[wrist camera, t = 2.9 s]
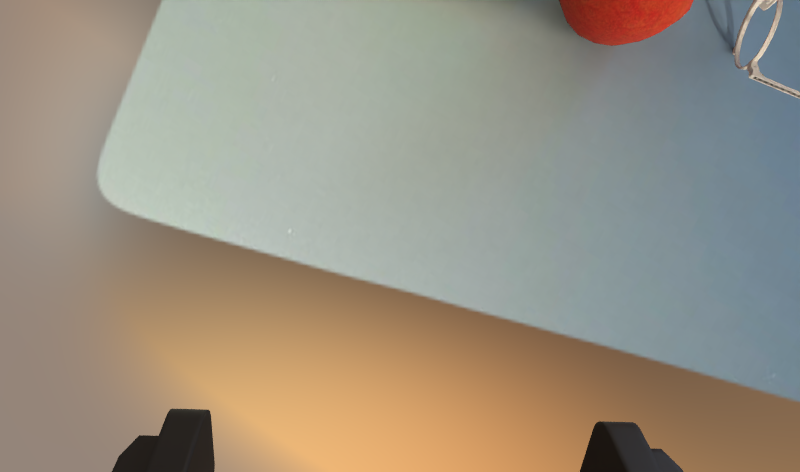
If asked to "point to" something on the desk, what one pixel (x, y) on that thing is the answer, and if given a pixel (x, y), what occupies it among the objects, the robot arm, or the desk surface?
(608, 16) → the apple
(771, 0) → the eyeglasses
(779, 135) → the desk surface
